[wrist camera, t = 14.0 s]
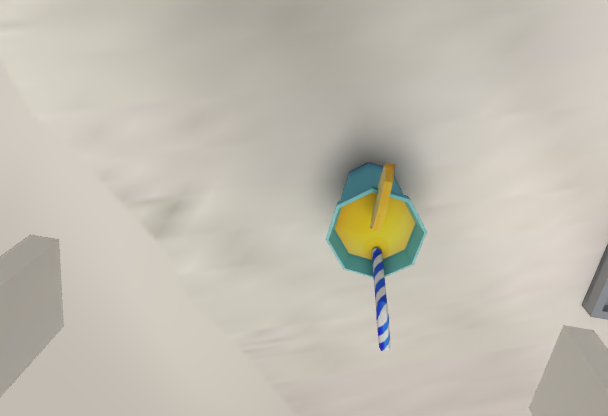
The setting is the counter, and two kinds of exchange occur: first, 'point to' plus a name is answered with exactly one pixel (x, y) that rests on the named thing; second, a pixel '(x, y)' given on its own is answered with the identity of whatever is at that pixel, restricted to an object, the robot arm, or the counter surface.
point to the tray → (598, 291)
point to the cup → (375, 232)
